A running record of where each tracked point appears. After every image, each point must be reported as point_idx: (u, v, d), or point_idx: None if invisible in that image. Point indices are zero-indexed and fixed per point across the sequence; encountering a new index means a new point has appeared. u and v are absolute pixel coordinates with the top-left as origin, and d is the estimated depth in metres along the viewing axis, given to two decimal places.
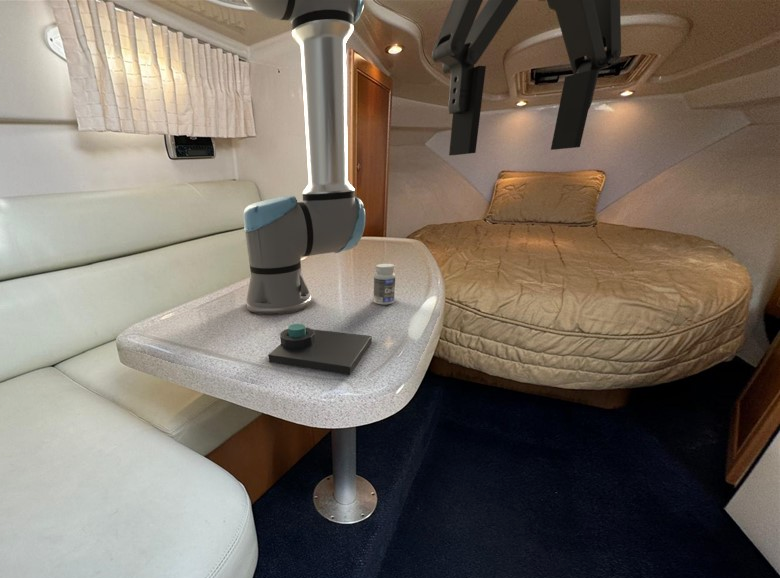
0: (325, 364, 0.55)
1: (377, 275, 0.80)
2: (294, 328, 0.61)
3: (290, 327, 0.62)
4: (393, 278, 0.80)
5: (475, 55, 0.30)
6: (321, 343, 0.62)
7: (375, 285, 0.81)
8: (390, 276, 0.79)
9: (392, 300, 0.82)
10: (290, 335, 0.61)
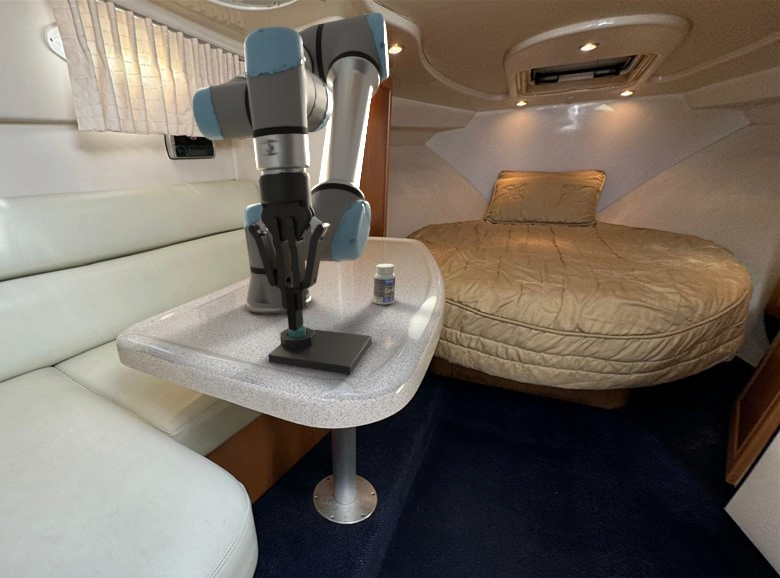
0: (325, 364, 0.55)
1: (377, 275, 0.80)
2: None
3: None
4: (393, 278, 0.80)
5: (281, 287, 0.58)
6: (321, 343, 0.62)
7: (375, 285, 0.81)
8: (390, 276, 0.79)
9: (392, 300, 0.82)
10: (290, 336, 0.61)
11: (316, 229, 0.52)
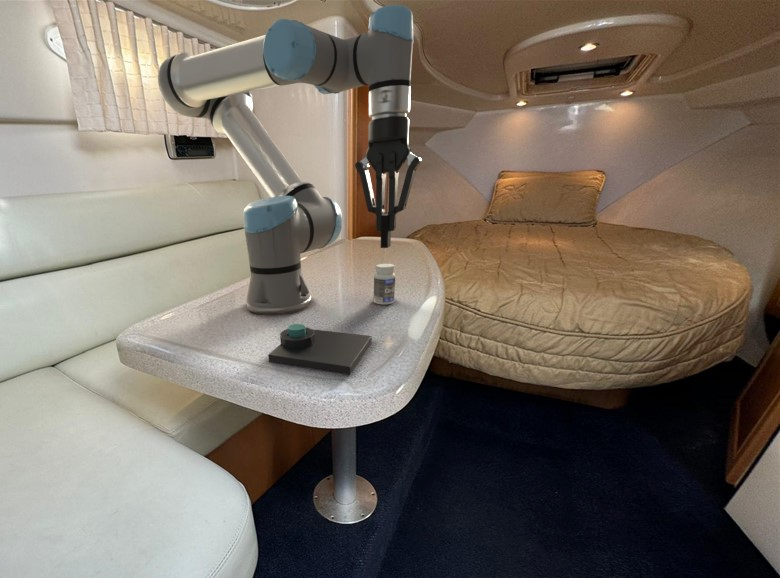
0: (325, 364, 0.55)
1: (377, 275, 0.80)
2: (294, 328, 0.61)
3: (290, 327, 0.62)
4: (393, 278, 0.80)
5: (378, 211, 0.75)
6: (321, 343, 0.62)
7: (375, 285, 0.81)
8: (390, 276, 0.79)
9: (392, 300, 0.82)
10: (290, 335, 0.61)
11: (413, 161, 0.68)
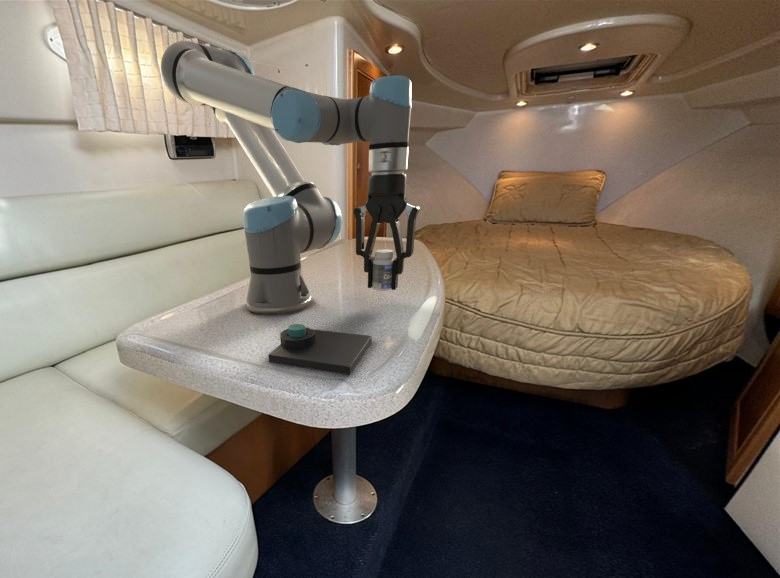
0: (325, 364, 0.55)
1: (376, 261, 0.79)
2: (294, 328, 0.61)
3: (290, 327, 0.62)
4: (392, 264, 0.79)
5: (366, 255, 0.80)
6: (321, 343, 0.62)
7: (374, 271, 0.80)
8: (389, 262, 0.78)
9: (391, 286, 0.81)
10: (290, 335, 0.61)
11: (412, 211, 0.72)
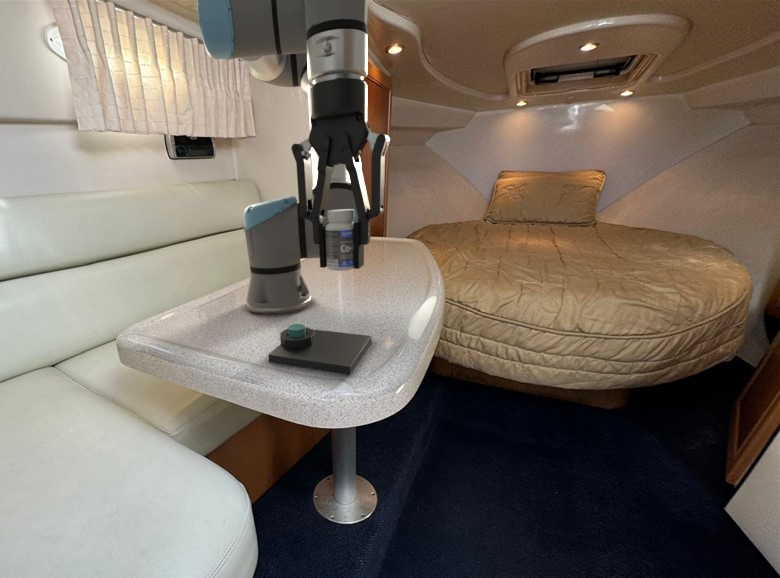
0: (325, 364, 0.55)
1: (329, 225, 0.53)
2: (294, 328, 0.61)
3: (290, 327, 0.62)
4: (353, 229, 0.52)
5: (314, 218, 0.53)
6: (321, 343, 0.62)
7: (327, 241, 0.54)
8: (348, 225, 0.52)
9: (353, 264, 0.55)
10: (290, 335, 0.61)
11: (377, 141, 0.46)
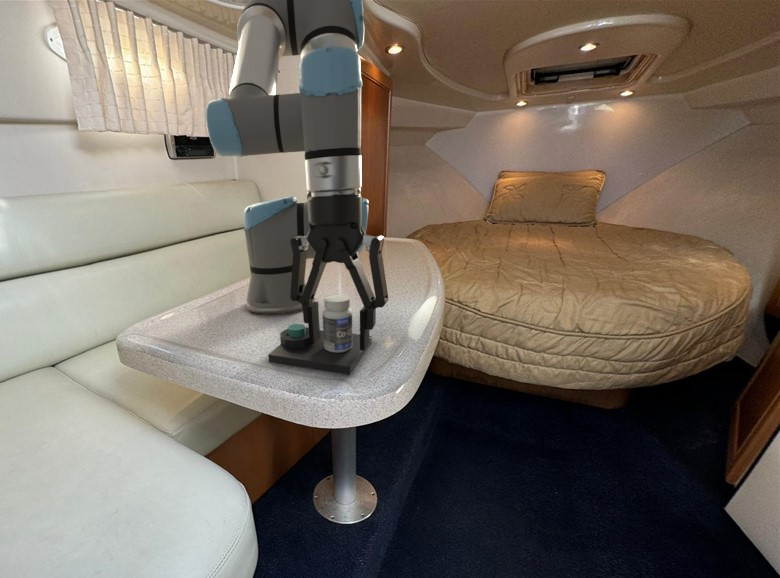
0: (325, 364, 0.55)
1: (326, 312, 0.56)
2: (294, 328, 0.61)
3: (290, 327, 0.62)
4: (348, 317, 0.56)
5: (303, 302, 0.57)
6: (321, 343, 0.62)
7: (324, 325, 0.57)
8: (344, 314, 0.55)
9: (349, 346, 0.58)
10: (290, 335, 0.61)
11: (372, 244, 0.49)
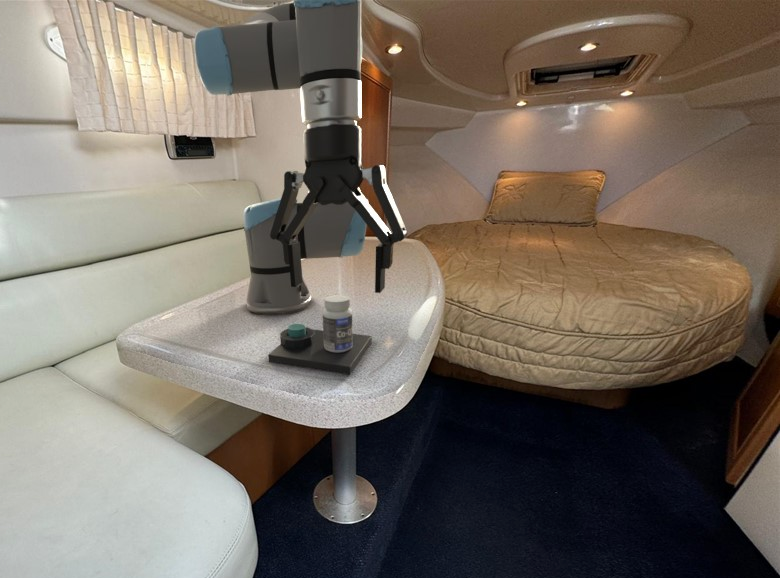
0: (325, 364, 0.55)
1: (326, 312, 0.56)
2: (294, 328, 0.61)
3: (290, 327, 0.62)
4: (348, 317, 0.56)
5: (284, 240, 0.55)
6: (321, 343, 0.62)
7: (324, 325, 0.57)
8: (344, 314, 0.55)
9: (349, 346, 0.58)
10: (290, 335, 0.61)
11: (373, 174, 0.46)
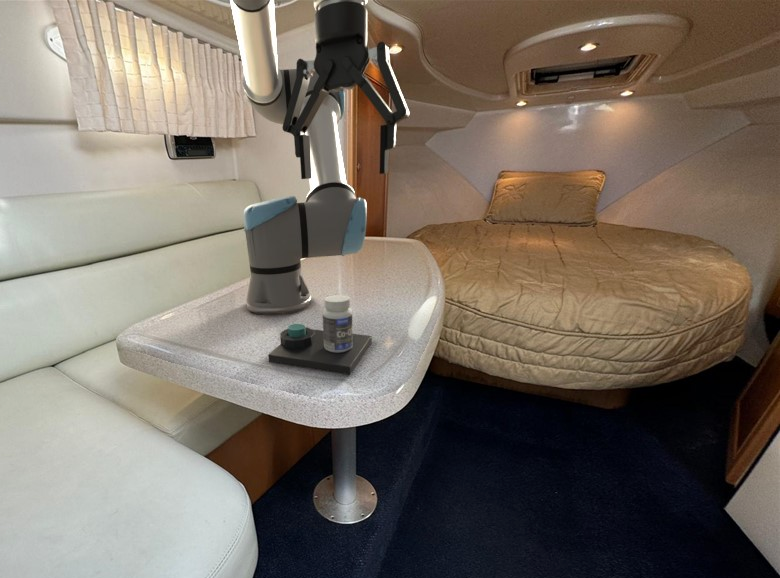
0: (325, 364, 0.55)
1: (326, 312, 0.56)
2: (294, 328, 0.61)
3: (290, 327, 0.62)
4: (348, 317, 0.56)
5: (295, 130, 0.59)
6: (321, 343, 0.62)
7: (324, 325, 0.57)
8: (344, 314, 0.55)
9: (349, 346, 0.58)
10: (290, 335, 0.61)
11: (378, 51, 0.51)
